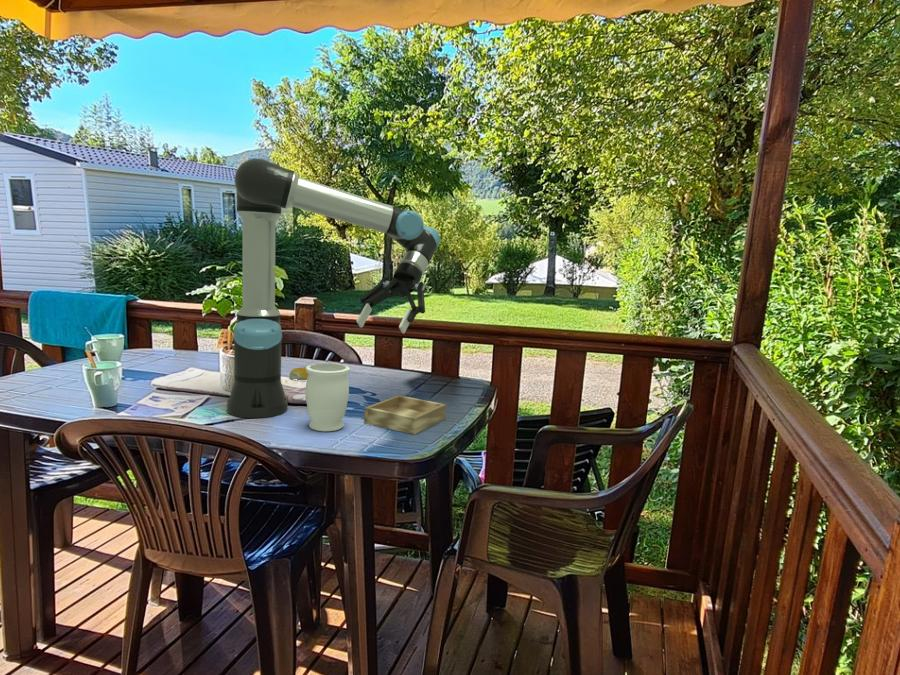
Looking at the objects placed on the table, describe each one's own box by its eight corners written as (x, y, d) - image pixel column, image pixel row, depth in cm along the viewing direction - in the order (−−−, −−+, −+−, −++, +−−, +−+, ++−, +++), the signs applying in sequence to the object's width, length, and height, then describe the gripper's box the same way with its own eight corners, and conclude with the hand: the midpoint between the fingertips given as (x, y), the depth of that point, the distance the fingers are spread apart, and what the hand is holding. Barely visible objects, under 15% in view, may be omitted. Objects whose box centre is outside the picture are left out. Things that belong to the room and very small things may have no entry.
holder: (363, 422, 148) (364, 407, 147) (397, 409, 162) (398, 395, 161) (414, 434, 141) (415, 418, 140) (445, 419, 155) (446, 404, 154)
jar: (350, 432, 140) (352, 371, 137) (305, 434, 137) (307, 372, 134) (345, 419, 150) (347, 362, 147) (303, 420, 147) (305, 362, 144)
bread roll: (323, 378, 193) (323, 366, 192) (301, 383, 185) (302, 370, 185) (306, 374, 197) (306, 363, 197) (284, 378, 190) (285, 366, 189)
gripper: (452, 283, 165) (424, 341, 154) (379, 276, 176) (347, 330, 165) (445, 264, 160) (415, 323, 149) (369, 258, 171) (336, 313, 160)
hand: (379, 327), depth 157 cm, fingers open, 13 cm apart
